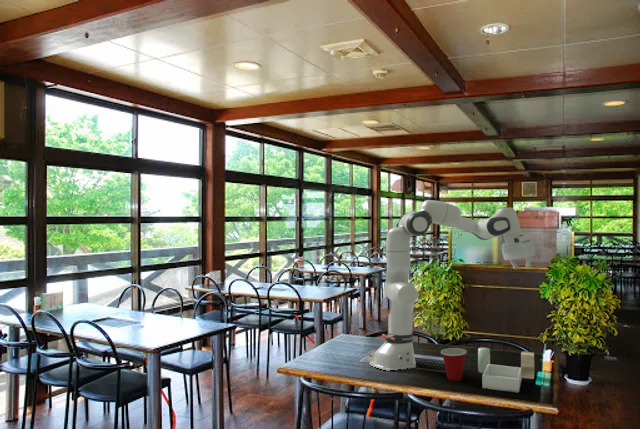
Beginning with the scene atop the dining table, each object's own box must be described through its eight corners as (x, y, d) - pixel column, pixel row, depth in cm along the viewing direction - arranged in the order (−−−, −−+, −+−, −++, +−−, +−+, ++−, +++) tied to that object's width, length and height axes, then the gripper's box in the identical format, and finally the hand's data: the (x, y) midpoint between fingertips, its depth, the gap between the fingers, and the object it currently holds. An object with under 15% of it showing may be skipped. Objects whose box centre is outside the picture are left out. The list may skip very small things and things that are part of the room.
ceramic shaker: (485, 373, 219) (485, 350, 220) (475, 371, 224) (475, 348, 224) (492, 371, 222) (492, 349, 222) (482, 369, 226) (482, 346, 227)
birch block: (533, 379, 212) (533, 355, 212) (521, 377, 214) (520, 354, 214) (534, 375, 217) (534, 352, 217) (521, 374, 219) (521, 351, 219)
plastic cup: (438, 374, 219) (438, 347, 219) (463, 374, 218) (463, 347, 218) (443, 382, 208) (443, 353, 208) (470, 382, 207) (469, 353, 208)
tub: (518, 392, 195) (518, 379, 195) (482, 388, 201) (482, 375, 201) (521, 379, 211) (521, 367, 211) (487, 375, 217) (487, 363, 217)
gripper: (496, 243, 251) (503, 270, 250) (522, 238, 232) (530, 267, 230) (506, 241, 253) (514, 267, 252) (533, 235, 234) (541, 264, 232)
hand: (522, 267), depth 241 cm, fingers open, 8 cm apart
